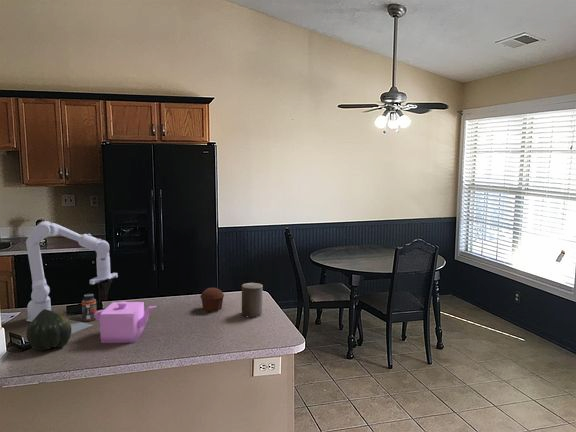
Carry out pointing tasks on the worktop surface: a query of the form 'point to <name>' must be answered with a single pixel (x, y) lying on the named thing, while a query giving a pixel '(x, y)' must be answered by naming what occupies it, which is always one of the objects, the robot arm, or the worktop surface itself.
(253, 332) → the worktop surface
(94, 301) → the supplement bottle
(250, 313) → the grey lidded canister
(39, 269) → the robot arm
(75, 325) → the mat
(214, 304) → the muffin
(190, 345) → the worktop surface
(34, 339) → the squash
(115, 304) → the teapot
